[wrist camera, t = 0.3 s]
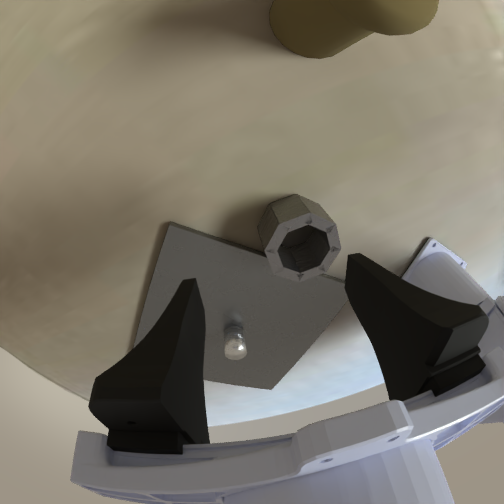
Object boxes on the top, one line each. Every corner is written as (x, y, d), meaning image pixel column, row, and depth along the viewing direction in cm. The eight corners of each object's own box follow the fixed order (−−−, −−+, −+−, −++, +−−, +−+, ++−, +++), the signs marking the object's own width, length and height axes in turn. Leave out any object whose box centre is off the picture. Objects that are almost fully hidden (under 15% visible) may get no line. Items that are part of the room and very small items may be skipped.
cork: (295, 71, 16) (382, 56, 7) (252, 1, 13) (294, -78, 4) (365, 45, 15) (476, 33, 6) (326, -21, 12) (412, -79, 3)
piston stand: (354, 284, 27) (367, 305, 24) (270, 386, 34) (274, 406, 32) (170, 221, 21) (164, 242, 18) (130, 358, 29) (126, 380, 26)
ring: (334, 211, 22) (352, 231, 19) (303, 262, 25) (315, 287, 22) (278, 185, 21) (290, 203, 18) (248, 243, 23) (254, 268, 20)
